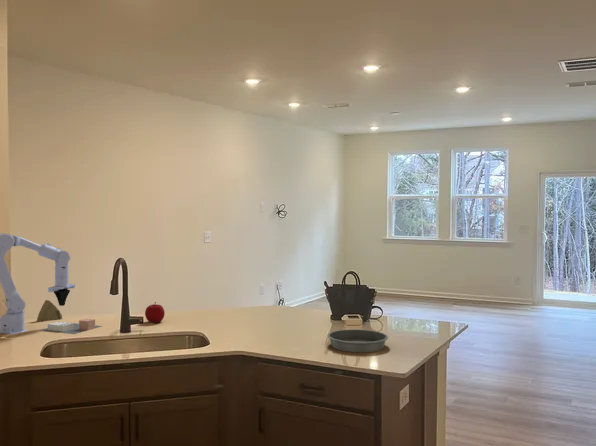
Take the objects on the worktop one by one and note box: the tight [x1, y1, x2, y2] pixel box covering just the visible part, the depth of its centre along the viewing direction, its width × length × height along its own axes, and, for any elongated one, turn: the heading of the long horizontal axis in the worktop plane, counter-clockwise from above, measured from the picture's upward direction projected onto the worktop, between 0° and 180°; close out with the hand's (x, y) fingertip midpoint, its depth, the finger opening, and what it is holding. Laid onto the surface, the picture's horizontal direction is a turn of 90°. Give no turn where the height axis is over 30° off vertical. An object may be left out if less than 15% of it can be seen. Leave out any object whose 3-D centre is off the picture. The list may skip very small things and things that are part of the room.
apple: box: [144, 301, 165, 324], centre depth 273 cm, size 9×9×10 cm
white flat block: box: [47, 321, 73, 332], centre depth 252 cm, size 6×9×3 cm, turn 69°
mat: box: [40, 322, 103, 335], centre depth 255 cm, size 18×20×1 cm
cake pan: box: [327, 328, 389, 353], centre depth 228 cm, size 25×25×4 cm
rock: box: [36, 299, 63, 322], centre depth 274 cm, size 11×9×10 cm
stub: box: [78, 318, 96, 331], centre depth 254 cm, size 4×5×4 cm
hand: (61, 305), depth 261 cm, fingers closed
